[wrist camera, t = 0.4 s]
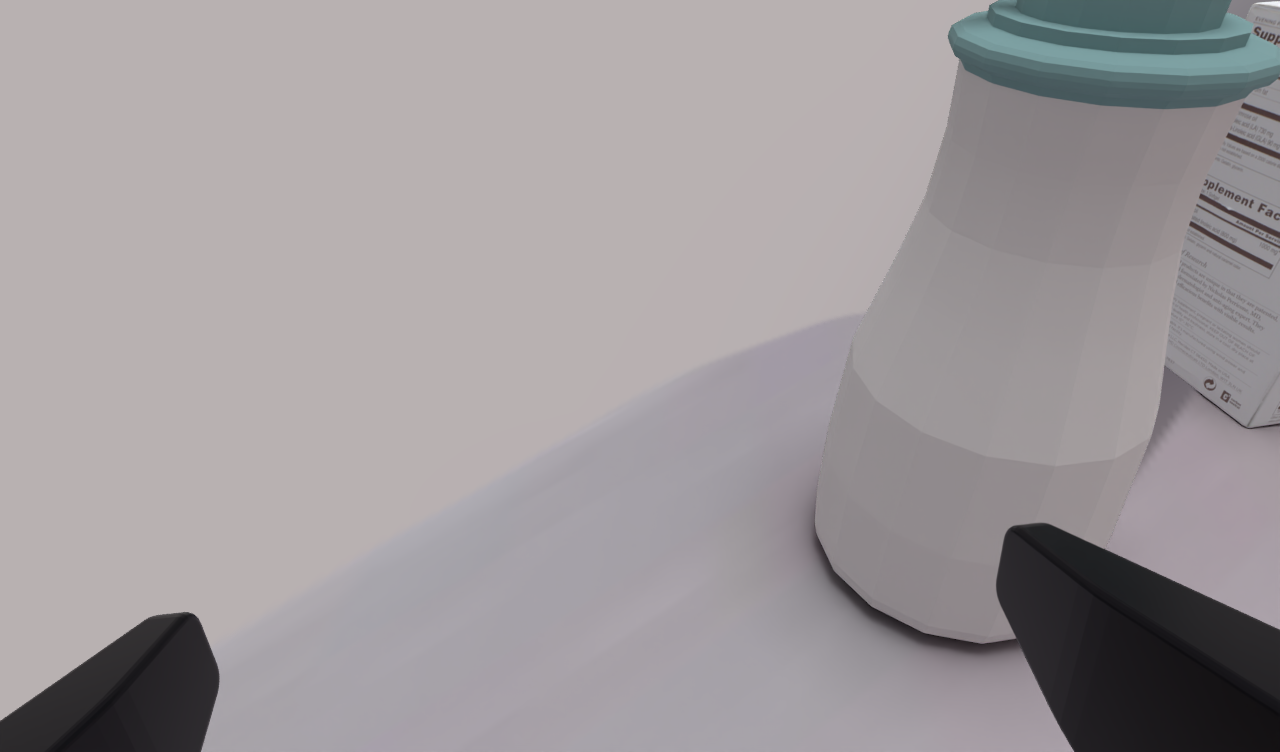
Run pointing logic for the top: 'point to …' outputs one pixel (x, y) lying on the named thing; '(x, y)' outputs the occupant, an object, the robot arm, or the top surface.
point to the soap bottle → (1028, 298)
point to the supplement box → (1236, 263)
